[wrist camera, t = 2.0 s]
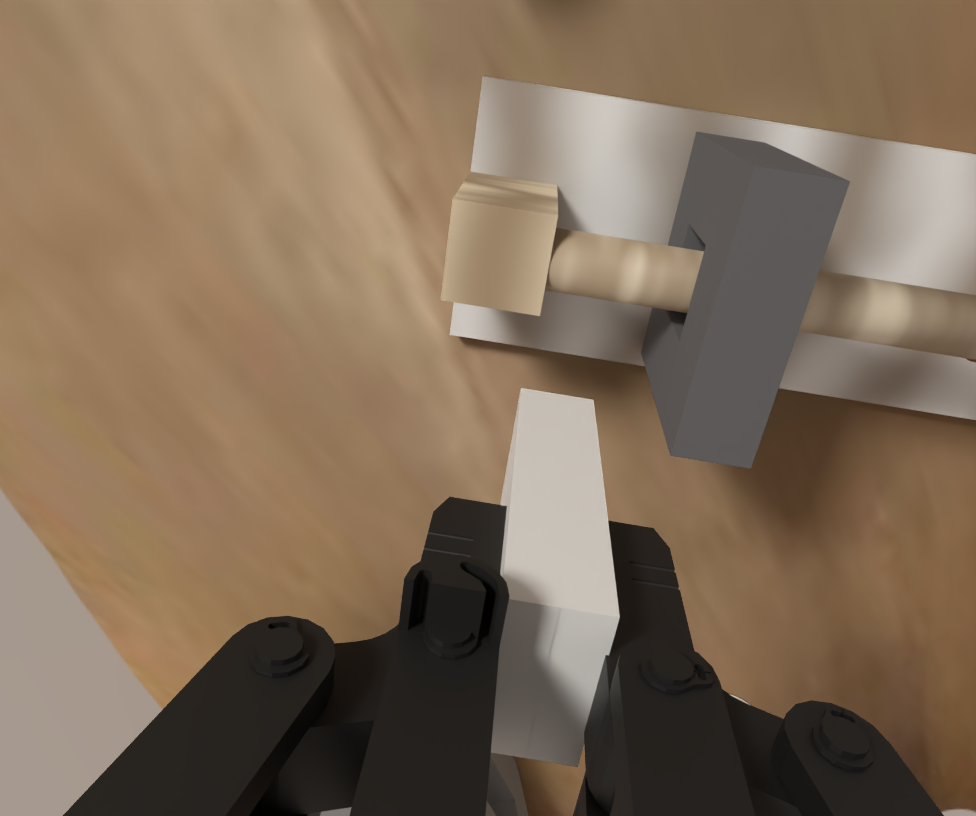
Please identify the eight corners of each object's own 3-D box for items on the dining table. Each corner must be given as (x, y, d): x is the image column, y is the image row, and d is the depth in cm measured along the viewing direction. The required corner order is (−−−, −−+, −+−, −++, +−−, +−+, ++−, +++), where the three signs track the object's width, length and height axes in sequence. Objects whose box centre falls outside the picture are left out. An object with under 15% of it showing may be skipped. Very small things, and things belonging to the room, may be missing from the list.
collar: (640, 352, 37) (670, 455, 28) (696, 131, 33) (754, 166, 23) (700, 362, 37) (750, 469, 28) (765, 142, 33) (850, 181, 23)
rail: (452, 327, 39) (429, 390, 32) (484, 75, 33) (466, 83, 26) (1069, 428, 38) (1185, 514, 31) (1200, 190, 33) (1375, 228, 26)
